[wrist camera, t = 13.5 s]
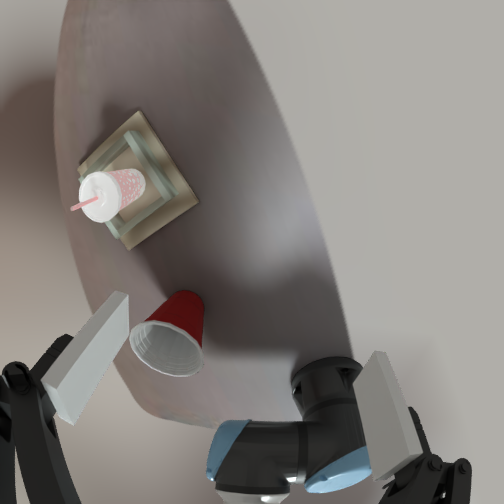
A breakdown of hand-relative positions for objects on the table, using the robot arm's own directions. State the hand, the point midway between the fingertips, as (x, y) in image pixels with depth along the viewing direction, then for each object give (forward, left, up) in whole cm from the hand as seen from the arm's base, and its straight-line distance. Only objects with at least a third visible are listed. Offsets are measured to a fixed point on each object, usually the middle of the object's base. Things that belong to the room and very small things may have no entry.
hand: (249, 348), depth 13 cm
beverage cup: (+14, +14, -26) cm, 32 cm away
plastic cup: (-7, +19, -27) cm, 34 cm away
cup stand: (+14, +14, -27) cm, 33 cm away
